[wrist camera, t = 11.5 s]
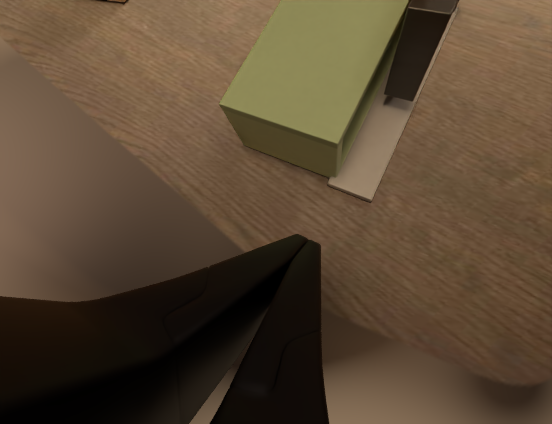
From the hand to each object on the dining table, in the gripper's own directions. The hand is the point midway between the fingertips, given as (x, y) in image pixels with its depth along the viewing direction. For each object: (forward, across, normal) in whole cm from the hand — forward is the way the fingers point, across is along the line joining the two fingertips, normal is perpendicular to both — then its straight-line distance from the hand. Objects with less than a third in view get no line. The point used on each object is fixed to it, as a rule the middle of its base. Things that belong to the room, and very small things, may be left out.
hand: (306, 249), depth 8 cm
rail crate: (+17, +4, -4) cm, 18 cm away
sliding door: (+18, 0, -6) cm, 19 cm away
